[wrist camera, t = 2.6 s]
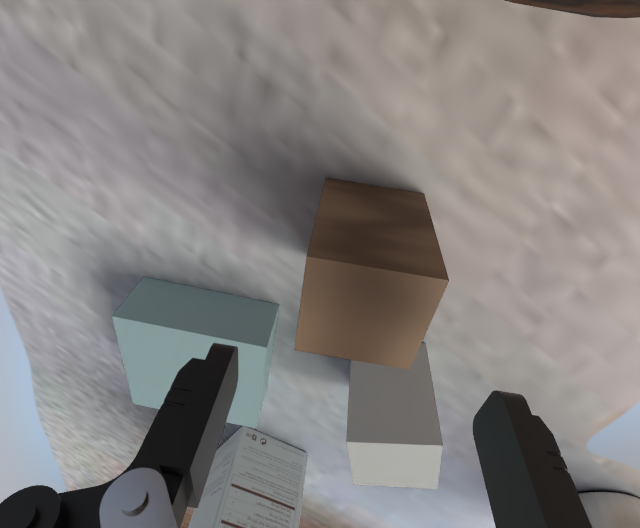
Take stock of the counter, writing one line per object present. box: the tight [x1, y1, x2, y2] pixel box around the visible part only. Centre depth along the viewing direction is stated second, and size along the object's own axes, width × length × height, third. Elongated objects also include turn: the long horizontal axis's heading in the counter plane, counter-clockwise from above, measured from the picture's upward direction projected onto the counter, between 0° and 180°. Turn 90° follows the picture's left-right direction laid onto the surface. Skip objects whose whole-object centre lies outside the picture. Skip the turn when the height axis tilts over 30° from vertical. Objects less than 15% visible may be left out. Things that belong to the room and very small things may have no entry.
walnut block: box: [294, 178, 449, 370], centre depth 17 cm, size 5×5×7 cm
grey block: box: [346, 343, 443, 489], centre depth 23 cm, size 5×5×7 cm
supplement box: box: [188, 426, 308, 528], centre depth 31 cm, size 7×7×13 cm
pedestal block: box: [112, 277, 279, 428], centre depth 25 cm, size 9×9×4 cm
